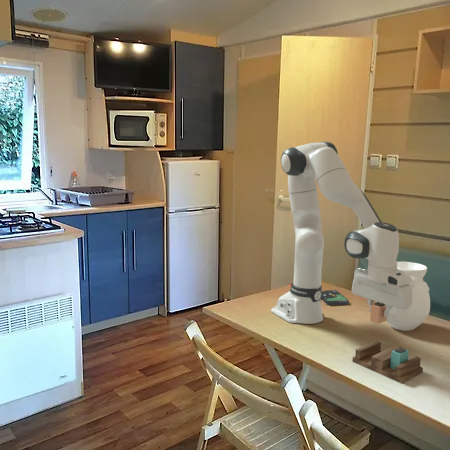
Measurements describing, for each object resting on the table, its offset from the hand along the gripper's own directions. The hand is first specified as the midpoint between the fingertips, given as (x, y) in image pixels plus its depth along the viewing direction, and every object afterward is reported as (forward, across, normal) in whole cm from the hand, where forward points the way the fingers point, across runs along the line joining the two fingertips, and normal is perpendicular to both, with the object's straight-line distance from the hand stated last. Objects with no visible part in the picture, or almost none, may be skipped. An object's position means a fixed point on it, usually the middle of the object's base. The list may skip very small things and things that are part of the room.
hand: (379, 314), depth 152 cm
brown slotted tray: (+16, +4, 0) cm, 17 cm away
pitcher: (+17, -12, +36) cm, 41 cm away
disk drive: (+17, -49, +38) cm, 65 cm away
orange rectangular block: (+2, 0, 0) cm, 2 cm away
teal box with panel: (+15, +8, 0) cm, 17 cm away
